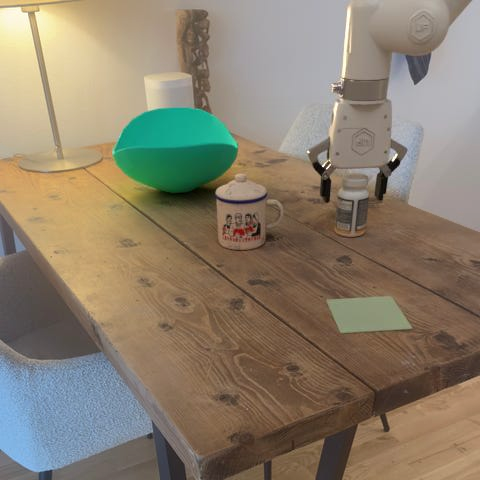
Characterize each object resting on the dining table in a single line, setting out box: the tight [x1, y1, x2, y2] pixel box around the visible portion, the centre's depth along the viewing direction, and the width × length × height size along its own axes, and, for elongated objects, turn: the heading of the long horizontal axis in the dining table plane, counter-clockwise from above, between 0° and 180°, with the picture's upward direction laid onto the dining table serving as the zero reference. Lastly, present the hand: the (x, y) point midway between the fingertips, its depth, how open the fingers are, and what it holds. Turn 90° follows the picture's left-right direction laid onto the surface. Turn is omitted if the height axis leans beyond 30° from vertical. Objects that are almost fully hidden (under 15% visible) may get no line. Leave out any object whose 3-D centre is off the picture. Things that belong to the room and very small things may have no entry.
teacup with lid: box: [214, 173, 284, 251], centre depth 99 cm, size 12×9×12 cm
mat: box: [325, 295, 414, 335], centre depth 81 cm, size 10×10×1 cm
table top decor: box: [111, 106, 239, 194], centre depth 125 cm, size 40×28×13 cm
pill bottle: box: [334, 172, 370, 238], centre depth 103 cm, size 6×6×10 cm
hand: (352, 199), depth 102 cm, fingers open, 9 cm apart
